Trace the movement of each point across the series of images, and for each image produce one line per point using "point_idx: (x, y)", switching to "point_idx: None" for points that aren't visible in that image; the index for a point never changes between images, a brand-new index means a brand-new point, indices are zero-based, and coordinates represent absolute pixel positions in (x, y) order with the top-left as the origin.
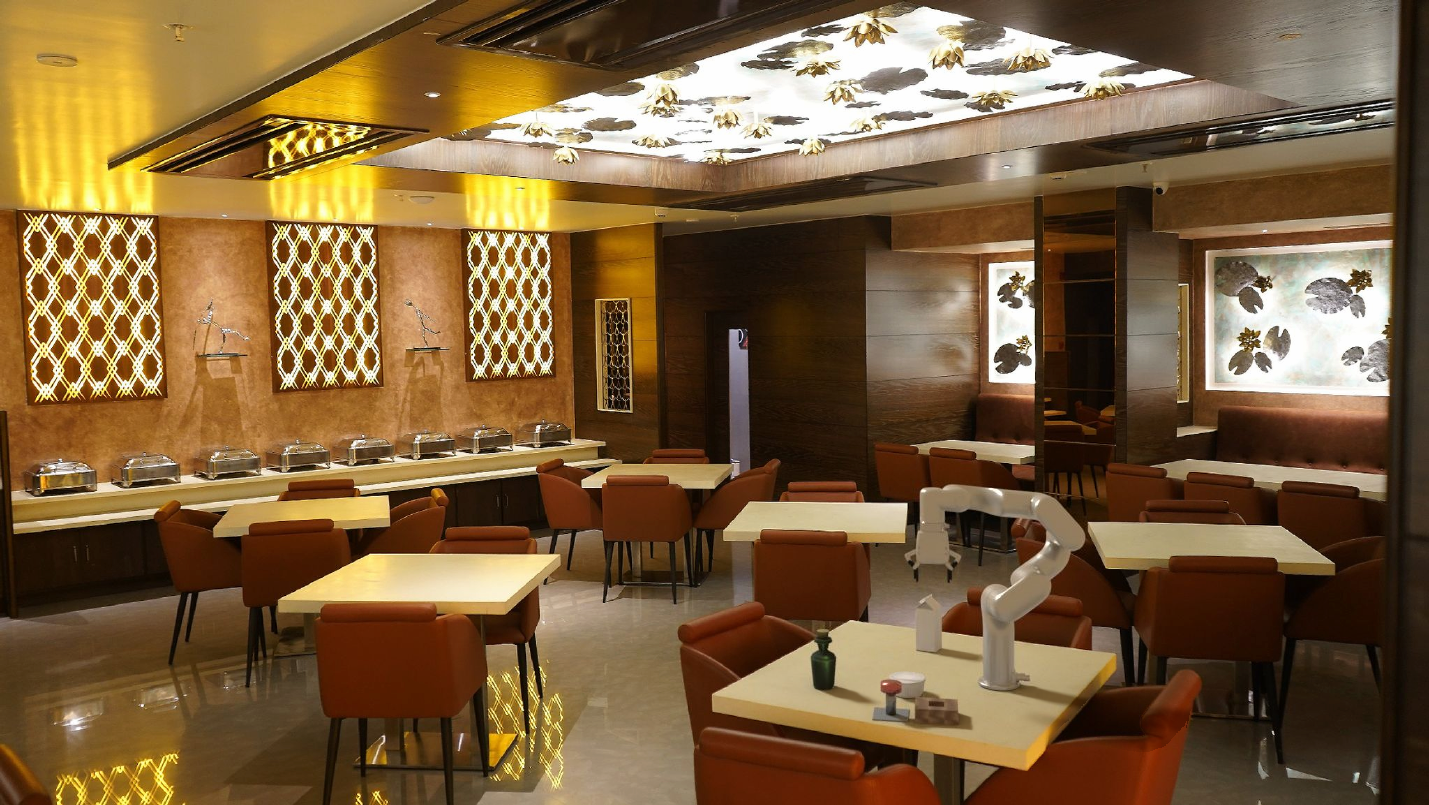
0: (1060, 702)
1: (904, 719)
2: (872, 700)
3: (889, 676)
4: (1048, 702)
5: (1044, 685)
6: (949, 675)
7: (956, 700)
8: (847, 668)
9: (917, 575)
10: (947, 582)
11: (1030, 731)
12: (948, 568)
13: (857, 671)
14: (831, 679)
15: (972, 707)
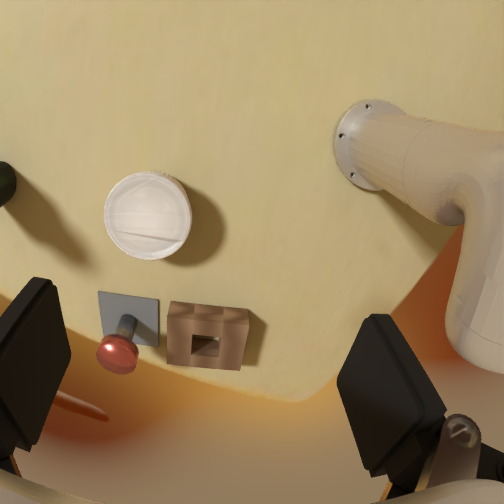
0: (436, 249)
1: (152, 341)
2: (88, 251)
3: (104, 217)
4: (420, 250)
5: None
6: (276, 66)
7: (246, 330)
8: (37, 44)
9: (46, 404)
10: (337, 379)
11: (338, 362)
12: (384, 490)
13: (54, 60)
14: (4, 202)
15: (282, 281)
